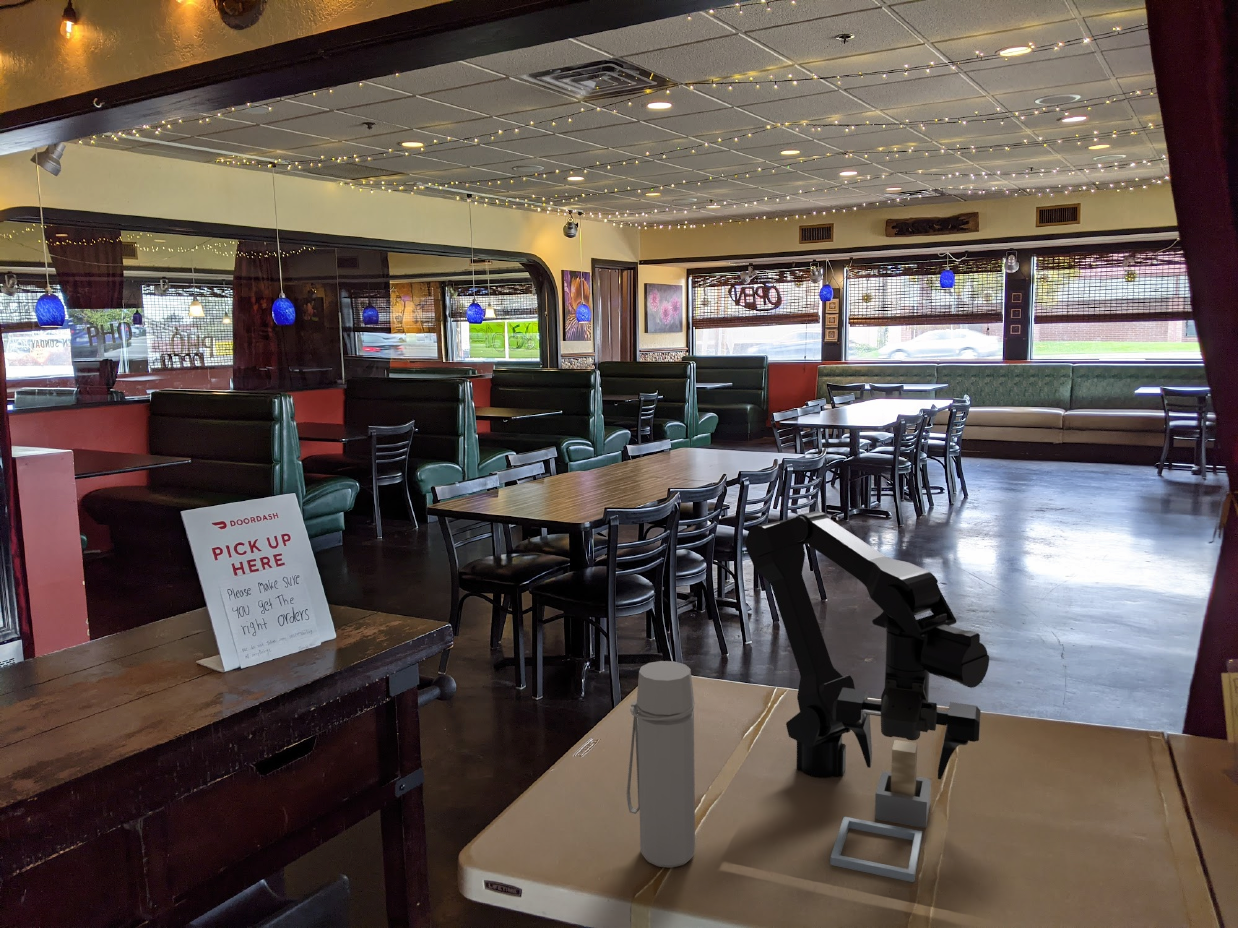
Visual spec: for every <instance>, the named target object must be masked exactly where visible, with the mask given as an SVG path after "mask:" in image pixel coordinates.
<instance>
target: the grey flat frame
mask: <svg viewBox="0 0 1238 928" xmlns="http://www.w3.org/2000/svg"><path fill="white" fill-rule="evenodd" d="M849 829H853V830H858V831H862V832H867V833H873V834H877V835H883V836H888V837H895V838H899V839H903V840H909V841H912V847H911V853H910V858H909V861H908V862H909V863H908V868H904V867H899V866H896V865H895V866H894V865H889V864H883V863H880V862H874V861H869V860H864V859H860V858H856V857H855V858H854V857H850V856H845V855H842V853H843V852H842V851H843V848H844V845H845V842H846V838H847V835H848V832H849ZM922 838H923V831H922V830H917V829H911V828H908V827H902V826H895V825H890V824H884V823H879V822H874V821H869V820H864V819H858V818H852V817H849V816H843V819H842V821H841V825H840V827H839V830H838V834H837V837H836V838H835V839H836V840H835V843H834V846H833V849H832V851H831V854H830V856H829V857H830V862H829V863H830V866H836V867H839V868H844V869H849V870H853V871H859V872H862V873H863V872H864V873H868V874H872V875H877V876H882V877H887V878H892V879H896V880H897V879H898V880H902V881H906V882H911V883H915V879H916V873H917V869H918V868H917V867H918V862H919V861H918V860H919V856H920V851H921V845H922Z"/></svg>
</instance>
